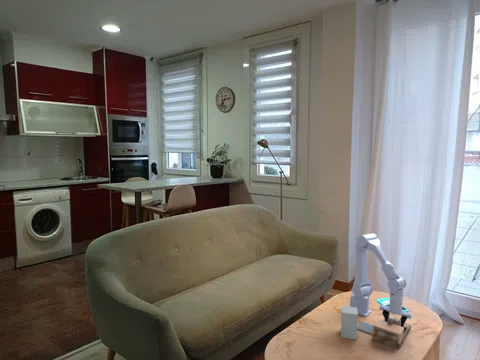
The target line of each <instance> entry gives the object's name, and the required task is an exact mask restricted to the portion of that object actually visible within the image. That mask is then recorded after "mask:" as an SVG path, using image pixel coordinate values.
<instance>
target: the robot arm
mask: <svg viewBox="0 0 480 360" xmlns="http://www.w3.org/2000/svg"><path fill="white" fill-rule="evenodd" d="M355 240H356V244H355V246H354V247H355V265H356V269H355V270H356V279H355V281H353V284H352V289H351V291H352V293H351V294H350V295H351V296H350V298H349V307H355V308H357V310H358V315H360V316H363V317H368V315H369V314H370V313H371V312H372V309H370V297H371V294H373V290H374V289H373V285H372V281H370V279H368V261H367V259H368V258H367V256H368V255H367V250H368V251H371V252H373V254H374V255H375V257H376V258H377V259H378V261H379V262H380V264H381V267H380V268H381V269H380V270H382V272H383V274H384V275H385V277H386V279H387V280H388V282H387V286H388V288H389V298H390V303H389V306H384V305H381V304H380V305H379V308H378V309H379V311H382V316H383V318H384V319H385V322H388V318H390V313H391V315H393V316H396V315H398V316H401V317H399V318H400V321H401V327H403V326H404V323H406V321H407V320H408V319H409V320H412V318H413V313H411V312H406V311H404V310H402V306H403V301H404V300H403V298H404V289H405V288H406V287H407V281H406V279H405V277H403V276H402V275H400V274H399V273H398V271H397V269H396V268H395V265H394V264H393V263H392V262H390V261H389V260H388V258H387V256H386V254H385V253H384V251H383V249H382V247H381V246H382V245H381V240H380V239H379V237H378V235H377V234H376V233H373V232H371V233H367V234H359V235H358V236H357V237H356V239H355Z"/></svg>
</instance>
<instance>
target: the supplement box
mask: <svg viewBox="0 0 480 360" xmlns="http://www.w3.org/2000/svg"><path fill="white" fill-rule="evenodd" d="M358 316H359V314H358V310H357V308H355V307H350V306H349V305H347V306H346V305H342V307H341V326H340V327H341V328H340V337H341V338H344V339H345V338H346V339H350V340H356V341H357V340H358V330H357V326H358V322H359V321H358V318H359V317H358Z"/></svg>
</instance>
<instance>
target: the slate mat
mask: <svg viewBox="0 0 480 360" xmlns="http://www.w3.org/2000/svg"><path fill="white" fill-rule="evenodd" d="M357 331H360V332H364V333H366V334H369V335H371V336H372V335H373V324H371V323H367V322H364V321H361V322H360V323H359V324H357Z"/></svg>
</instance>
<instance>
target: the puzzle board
mask: <svg viewBox="0 0 480 360" xmlns="http://www.w3.org/2000/svg"><path fill="white" fill-rule="evenodd" d="M382 321H385V318H384V319H383V320H382ZM400 326H401V320H400ZM403 327H404V335H403V339H402V341H401V342H400V344H398V335H397V334H394V333H391V332H388V331H385V330H382V329H378V330H377V332H376V333H375V334H374V335H371V340H372V341H375V342H378V343H381V344H384V345H386V346H390V347H392V348H394V349H397V350H400V349H401V347H402V345H403V344H404V342H405V339H406V338H407V336H408V335H409V332H410V331H411V329H412V324H410V323H407V322H405V323H404V326H403Z"/></svg>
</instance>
